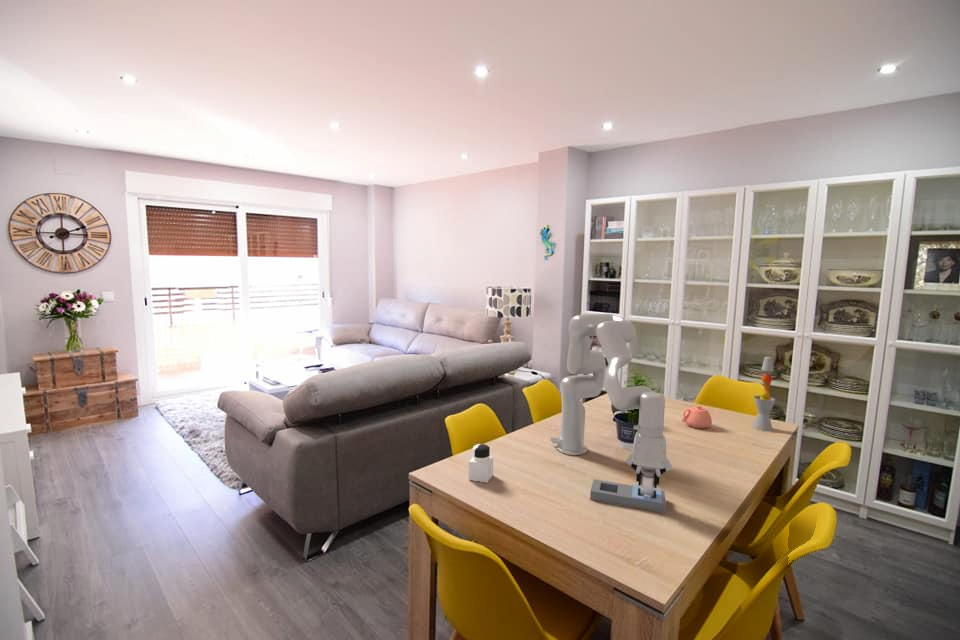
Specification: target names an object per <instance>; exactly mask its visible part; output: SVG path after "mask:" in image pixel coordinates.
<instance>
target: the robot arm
mask: <svg viewBox="0 0 960 640" xmlns="http://www.w3.org/2000/svg"><path fill="white" fill-rule="evenodd" d="M636 332H637V331H636V328H635V326H634V324H633V323H632V322H631V321H630V320H628V319H626V318H623V317H620V316H617V315H615V314H610V313H586V314H585V313H584V314H577V315H575V316H572V318H571V319H570V321H569V324H568V334H569V335H568V336H569V345H568V352H567V359H566V360H567V361H566V369H567V371H568V372H569V373H571V374H572V375H569V376H565V377H564V378H562V379H561V381H560V383H559V389H560V395H561V426H560V427H561V430H560V436H558V437H555V436H551V437H550V442H552V444H557V445H556V450H557V451H558V450H559V451H558V452H560V453H562V454H564V453H565V455H568V456H583V455H584V454H585V455H586V454H587V452H588V446H587V445H585V425H586V424H585V423H586V422H585V421H586V408H585V405H584V404H583V403H582V401H581V399H588V398H596V397H598V396H599V395H600V394H601V392H602V390H603V385H604V387H605V391H606V394H607V396H608V397H609V398H608V399H609V401H610V403H611V405H612V404H613V406H614V407H615V408H616V409H618V410H621V411H625V410H634V409H639V419H638V424H635V425H633V430H635V431H636V432H635V434H634V439H633V447H632V452H631V453H630V454H629V455H628V456H627V457H626V459H625V463H626V464H628V465H629V466H631V468H632V469H633V470H634V472H635V473H636V479H635V482H637V483H638V485H639V486H641V470H642V467H649V468H653V469H655V477H654V488H657V489H658V487H657V486H660V478H661V476H662V475H664V474H665V473H666V472H669V471H670V470H673V466H672V464H671V462H670V460H669V459H668V458H667V440H666V437H665V435H664V423H665V409H666V408H665V407H666V397H665V396H664V395H663V393H660V392H656V391H654V390H652V389H651V388H650V387H648V386H645V385H637V386H626V387H625V386H624V387H622V385H621V383H620V380H619V376H618V373H619V369H621V368H623V367H625V366H626V365H628V364H629V363H630V362H631V361H632V359H633V355H632V353H631V351H630V349H629V346H628V343H631V342H634V340H635V339H636V335H637V333H636ZM590 337H597V340H598V342H599V344H600V348H601V350H602V352H603V353H602V352H601V351H599V350H597V349H596V350H595V349H591V348H592V341H591V338H590ZM606 362H607V363H606ZM606 364H607V368H606Z"/></svg>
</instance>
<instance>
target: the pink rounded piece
mask: <svg viewBox="0 0 960 640" xmlns="http://www.w3.org/2000/svg"><path fill="white" fill-rule="evenodd" d="M682 415H683V417H682V418H681V422H683V423H685V424H686V425H687V426H689V427H692V428H693V427H696V428H695V429H707V428H709V427H710V426H712V424H713V421H712V416H711V415H710V413H709V410H708V409H706V408H705V407H702V405H701V404H700V405H699V404H697V405H695V406H691V407H689V408H685V409H684V410H683V411H682Z"/></svg>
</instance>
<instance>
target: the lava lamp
mask: <svg viewBox="0 0 960 640" xmlns="http://www.w3.org/2000/svg"><path fill="white" fill-rule="evenodd" d="M762 362H763V363H762V366H761V370H762V371H764V372H766V371H767V372H774V364H773V363H774V361H773V357H771V356H765V357H764V358H763V361H762ZM760 378H761V382H762V383H763V386H764V390H763V391H761V392H760V395H754V396H753V399H754V402H755V405H756V409H757V412H758V413H757V415H756V416H755V419H754V421H753V424H751V428H752V429H753V428H754V429H753V430H756V429H757V430H756V431H759V430H762V431H761V432H764V431H771V432H773V431H774V429H773V425H772V422H771V417H770V412H771V411H772V410H773V407H774V405H775V403H776V401H777V399H776V398H774V397H771V396H770V386H771V383H772V381H773V376H772V375H770V374H769V373H764V374H762V376H761V377H760ZM772 430H773V431H772Z"/></svg>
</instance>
